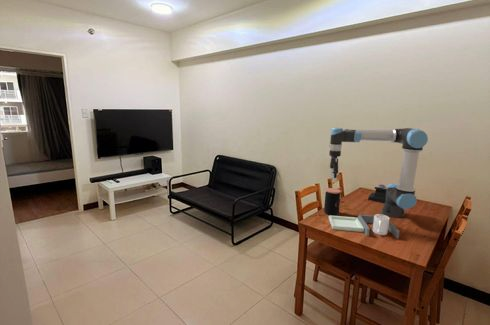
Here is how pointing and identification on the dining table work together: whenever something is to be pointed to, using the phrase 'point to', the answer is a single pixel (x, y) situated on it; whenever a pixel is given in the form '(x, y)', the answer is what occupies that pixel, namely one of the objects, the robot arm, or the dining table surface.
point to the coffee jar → (332, 201)
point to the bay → (370, 219)
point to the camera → (379, 194)
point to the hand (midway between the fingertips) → (332, 179)
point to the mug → (380, 224)
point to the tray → (346, 223)
